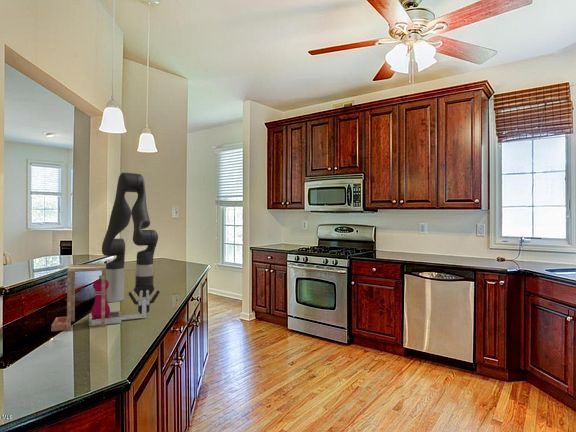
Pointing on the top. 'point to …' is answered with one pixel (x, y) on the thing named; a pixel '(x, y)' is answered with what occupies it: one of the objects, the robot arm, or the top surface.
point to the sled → (119, 316)
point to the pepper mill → (99, 299)
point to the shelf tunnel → (70, 289)
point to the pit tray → (59, 324)
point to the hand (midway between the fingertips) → (143, 312)
